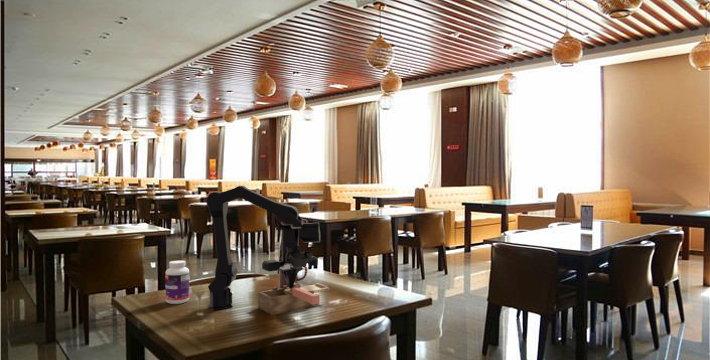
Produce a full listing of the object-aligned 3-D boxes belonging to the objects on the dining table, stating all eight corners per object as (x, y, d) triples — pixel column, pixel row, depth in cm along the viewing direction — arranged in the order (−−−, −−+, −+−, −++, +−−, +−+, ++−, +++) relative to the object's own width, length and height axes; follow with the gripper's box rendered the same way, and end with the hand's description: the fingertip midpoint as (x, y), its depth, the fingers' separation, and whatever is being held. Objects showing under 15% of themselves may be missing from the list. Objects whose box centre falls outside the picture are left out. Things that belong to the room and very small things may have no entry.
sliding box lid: (293, 296, 162) (293, 286, 162) (283, 292, 168) (283, 282, 168) (329, 290, 170) (329, 281, 170) (318, 286, 176) (318, 277, 176)
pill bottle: (160, 303, 171) (160, 262, 171) (178, 297, 178) (178, 259, 178) (176, 305, 167) (176, 264, 167) (194, 300, 175) (193, 260, 174)
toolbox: (271, 315, 156) (270, 295, 156) (258, 308, 164) (258, 289, 164) (313, 306, 165) (313, 288, 165) (299, 300, 173) (299, 283, 173)
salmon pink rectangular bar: (312, 304, 147) (312, 296, 147) (291, 295, 159) (291, 287, 159) (319, 303, 149) (319, 294, 149) (298, 294, 160) (297, 286, 160)
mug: (274, 291, 187) (274, 265, 187) (280, 286, 196) (280, 260, 195) (305, 292, 186) (304, 265, 186) (309, 286, 194) (309, 261, 194)
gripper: (275, 248, 153) (276, 297, 153) (325, 242, 164) (326, 288, 164) (261, 244, 162) (261, 290, 163) (309, 239, 173) (309, 282, 173)
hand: (290, 288), depth 165 cm, fingers closed
